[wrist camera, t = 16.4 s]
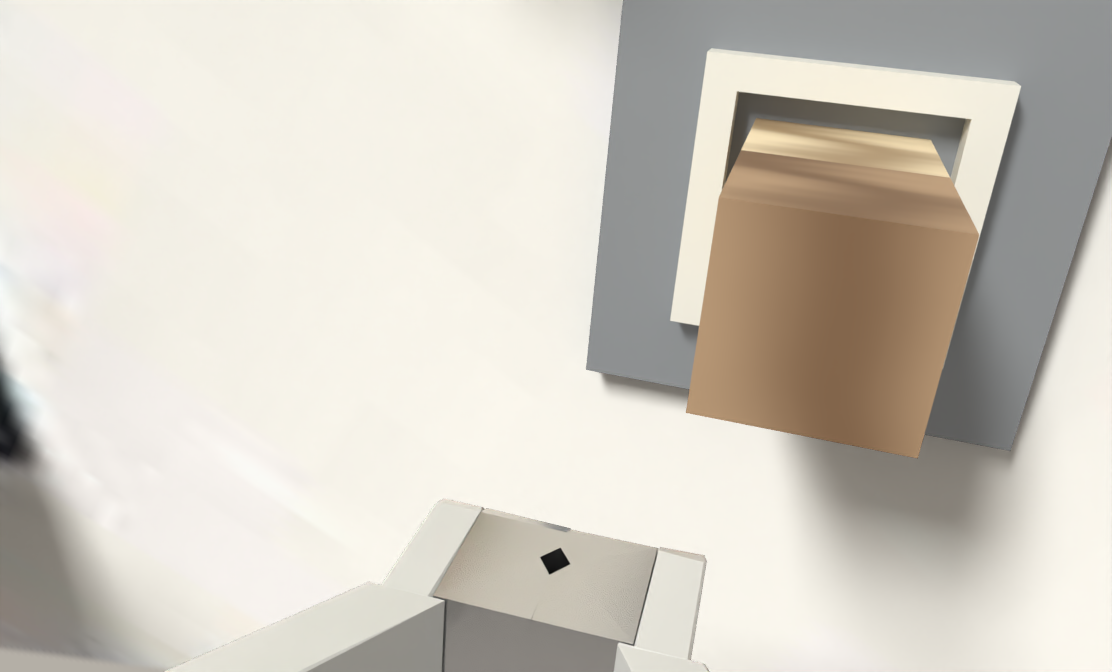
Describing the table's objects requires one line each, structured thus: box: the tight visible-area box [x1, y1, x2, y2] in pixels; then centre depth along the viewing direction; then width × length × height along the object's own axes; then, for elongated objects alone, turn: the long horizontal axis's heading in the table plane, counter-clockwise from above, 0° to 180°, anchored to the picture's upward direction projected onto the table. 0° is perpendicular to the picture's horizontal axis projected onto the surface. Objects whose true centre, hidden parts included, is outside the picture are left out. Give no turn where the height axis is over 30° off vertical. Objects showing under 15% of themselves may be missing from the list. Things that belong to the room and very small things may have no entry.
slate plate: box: [586, 0, 1112, 451], centre depth 28 cm, size 14×14×2 cm
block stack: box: [686, 118, 979, 458], centre depth 24 cm, size 5×5×10 cm
